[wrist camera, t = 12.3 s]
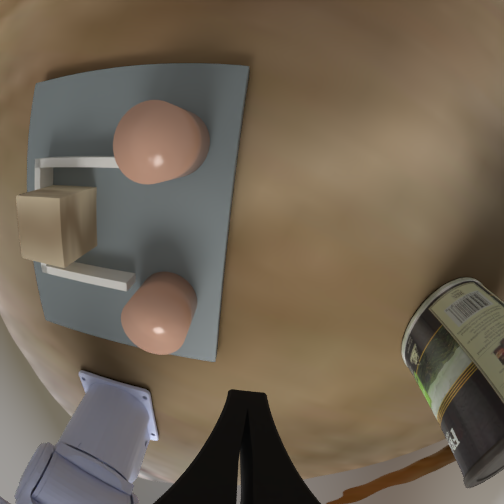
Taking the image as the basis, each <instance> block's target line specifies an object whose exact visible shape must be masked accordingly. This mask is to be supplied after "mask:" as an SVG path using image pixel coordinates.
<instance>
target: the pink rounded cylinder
mask: <svg viewBox="0 0 504 504" xmlns="http://www.w3.org/2000/svg"><path fill="white" fill-rule="evenodd" d="M196 309H197V296H196V293H195V291H194V289H193V287H192V286H191V285H190V283H189V282H188V281H187V280H185V279H184V278H183V277H181V276H179V275H177V274H175V273H171V272H157V273H154V274H152V275H151V276H149V277H148V278H147V279H146V280H145V281H144V283H143V284H142V285H141V286H140V287H139V289H138V290H137V291H136V292H135V294H134V295H133V296H132V297H131V299H130V300H129V301H128V302H127V304H126V305H125V306H124V308H123V310H122V313H121V323H122V327H123V329H124V332H125V333H126V335H127V336H128V338H129V339H130V340H131V341H132V342H133V343H134V344H135V345H137V346H138V347H139V348H141V349H143V350H145V351H147V352H150V353H153V354H159V355H165V354H170V353H173V352H175V351H177V350H178V349H179V348H180V347H181V346H182V345H183V343H184V341H185V338H186V335H187V333H188V330H189V327H190V325H191V322H192V319H193V317H194V314H195V312H196Z"/></svg>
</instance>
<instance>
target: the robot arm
mask: <svg viewBox="0 0 504 504" xmlns="http://www.w3.org/2000/svg"><path fill="white" fill-rule="evenodd" d="M79 376H80V379H81V382H82V385H83V387H84V390H85V393H86V394H85V396H84V397H83V399H82V401H81V402H80V404H79V406H78V407H77V409H76V411H75V413H74V414H73V416H72V418H71V419H70V421H69V423H68V425H67V426H66V428H65V430H64V432H63V434H62V435H61V437H60V439H59V441H58V443H57V444H56V445H55V446H53V445H52V444H51V443H49V442H47V443H41V444H40V445H39V447H38V448H37V450H36V452H35V453H34V455H33V456H32V458H31V460H30V462H29V463H28V465H27V467H26V469H25V471H24V473H23V475H22V477H21V480H20V482H19V486H18V488H17V490H16V493H15V499H16V502H15V503H16V504H140V503H139V500H138V498H137V496H136V495H135V494H134V493H132V490H133V487H134V485H133V484H131V483H133V482H134V481H135V480H136V478H137V476H138V474H139V471H140V468H141V465H142V462H143V459H144V455H145V452H146V449H147V446H148V443H149V440H154V441H158V439H159V436H158V431H157V426H156V422H155V417H154V411H153V406H152V400H151V394H150V392H149V391H148V390H146V389H143V388H139V387H136V386H132V385H128V384H125V383H121V382H118V381H114V380H111V379H108V378H105V377H101V376H98V375H95V374H92V373H89V372H86V371H84V370H80V372H79ZM239 453H240V468H241V502H240V504H321V503H320V502H319V501H318V500H317V499H316V497H315V496H314V495H313V494H312V492H311V491H310V490H309V488H308V487H307V485H306V484H305V483H304V481H303V480H302V478H301V476H300V475H299V473H298V472H297V470H296V468H295V467H294V465H293V463H292V461H291V459H290V457H289V456H288V454H287V452H286V450H285V447H284V445H283V443H282V441H281V439H280V436H279V434H278V431H277V429H276V426H275V424H274V421H273V418H272V415H271V411H270V408H269V404H268V400H267V395H266V394H265V393H260V392H250V391H241V390H233V389H231V390H229V391H228V396H227V399H226V403H225V405H224V408H223V410H222V413H221V415H220V417H219V419H218V421H217V423H216V425H215V427H214V429H213V431H212V433H211V435H210V436H209V438H208V439H207V441H206V443H205V444H204V446H203V447H202V449H201V451H200V452H199V453H198V455H197V456H196V458H195V459H194V460H193V462H192V463H191V464H190V466H189V467H188V468H187V469H186V471H185V472H184V473H183V474H182V475H181V476H180V478H179V479H178V480H177V481H176V482H175V483H174V484H173V485H172V486H171V487H170V488H169V489H168V491H166V492H165V493H164V494H163V495H162V496H161V497H160V498H159V499H158V500H157V501H156V502H155V503H153V504H236V496H237V477H238V461H239ZM0 504H10V503H9V502H7V501H6V500H4V499H3V498H2V497H0Z"/></svg>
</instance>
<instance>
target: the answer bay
mask: <svg viewBox="0 0 504 504" xmlns="http://www.w3.org/2000/svg"><path fill="white" fill-rule="evenodd" d="M53 167H99V168H119V167H118V165H117V163H116V161H115V157H114V156H67V157H46V158H39V159H35V190H37V189H41V188H44V187H48V186H52V185H53ZM41 268H42V272H43V273H47V274H51V275H55V276H59V277H63V278H68V279H72V280H76V281H80V282H85V283H89V284H94V285H98V286H103V287H108V288H112V289H117V290H122V291H128V290H129V289H130V287H131V286H132V285H133V284H134V283H135V282H136V276H135V273H130V272H125V271H119V270H114V269H108V268H103V267H97V266H92V265H87V264H82V263H77V262H73V263H71V264H70V265H68V266H67V267H66V268H62V267H57V266H53V265H49V264H45V263H41Z"/></svg>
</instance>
